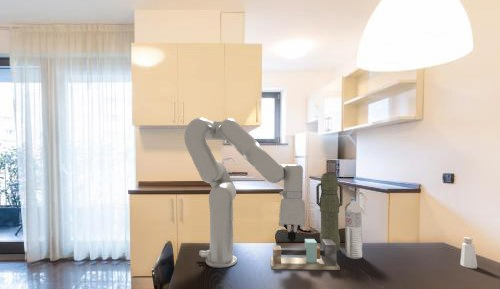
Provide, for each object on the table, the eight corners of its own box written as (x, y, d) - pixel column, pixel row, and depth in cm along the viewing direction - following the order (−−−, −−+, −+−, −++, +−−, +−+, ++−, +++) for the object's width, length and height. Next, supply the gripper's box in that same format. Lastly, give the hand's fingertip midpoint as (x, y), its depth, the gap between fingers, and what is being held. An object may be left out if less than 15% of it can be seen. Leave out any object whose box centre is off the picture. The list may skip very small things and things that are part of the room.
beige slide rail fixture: (271, 268, 104) (271, 244, 104) (270, 259, 113) (270, 237, 113) (339, 269, 103) (339, 245, 103) (333, 260, 112) (333, 238, 112)
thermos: (314, 246, 130) (313, 172, 131) (338, 245, 131) (337, 172, 132) (320, 252, 121) (319, 174, 122) (346, 252, 122) (345, 174, 123)
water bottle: (364, 260, 112) (363, 199, 113) (346, 258, 114) (345, 199, 115) (360, 254, 119) (359, 197, 120) (344, 253, 120) (343, 196, 121)
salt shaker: (458, 262, 111) (457, 234, 111) (475, 264, 108) (474, 236, 109) (461, 267, 106) (461, 238, 106) (479, 269, 103) (478, 240, 104)
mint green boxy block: (306, 262, 106) (306, 242, 106) (304, 257, 110) (304, 238, 110) (317, 262, 105) (316, 242, 106) (314, 257, 110) (314, 239, 110)
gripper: (274, 195, 106) (273, 243, 105) (313, 197, 105) (312, 245, 104) (273, 193, 113) (272, 237, 112) (309, 194, 113) (308, 239, 112)
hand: (291, 241), depth 108 cm, fingers closed
